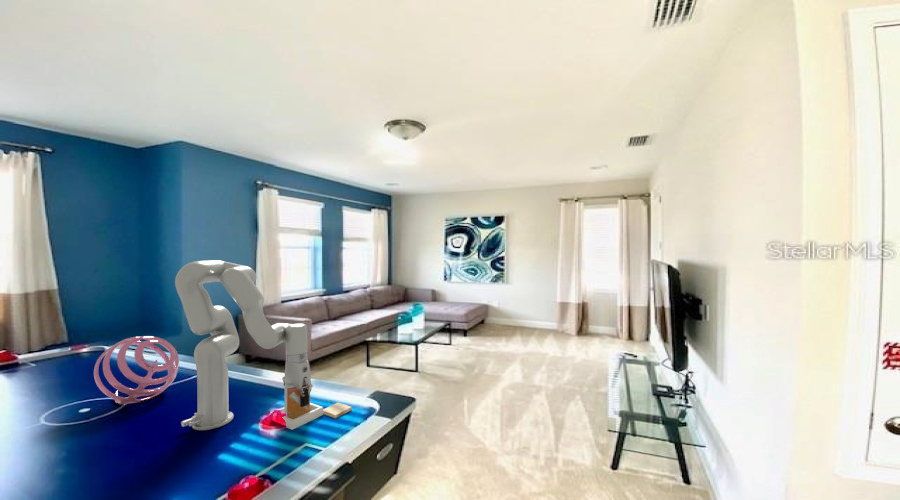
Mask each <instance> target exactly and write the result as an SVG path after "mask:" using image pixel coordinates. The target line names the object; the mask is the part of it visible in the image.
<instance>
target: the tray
mask: <svg viewBox="0 0 900 500" xmlns="http://www.w3.org/2000/svg"><path fill="white" fill-rule="evenodd" d="M323 409H324V406H322V405H319V404H317V403H316V404H315V403H313V402H310V412H308V413H306V414H304V415H302V416H299V417H297V418H295V419H291V418H288V417H286V416H284V417H282V418H283V419H284V420H285V422H286V426H287V427H286V428H287V429H289V430H294V429H297V428H299V427H301V426H303V425H305V424H307V423H309V422H311V421H314V420H315V419H317V418H320V417H321V416H323V415H324V414H323ZM277 410H280V411H283V412H285V406H283V407H280V408H277ZM272 412H273V411H271V412H270V414H271V413H272Z"/></svg>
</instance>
